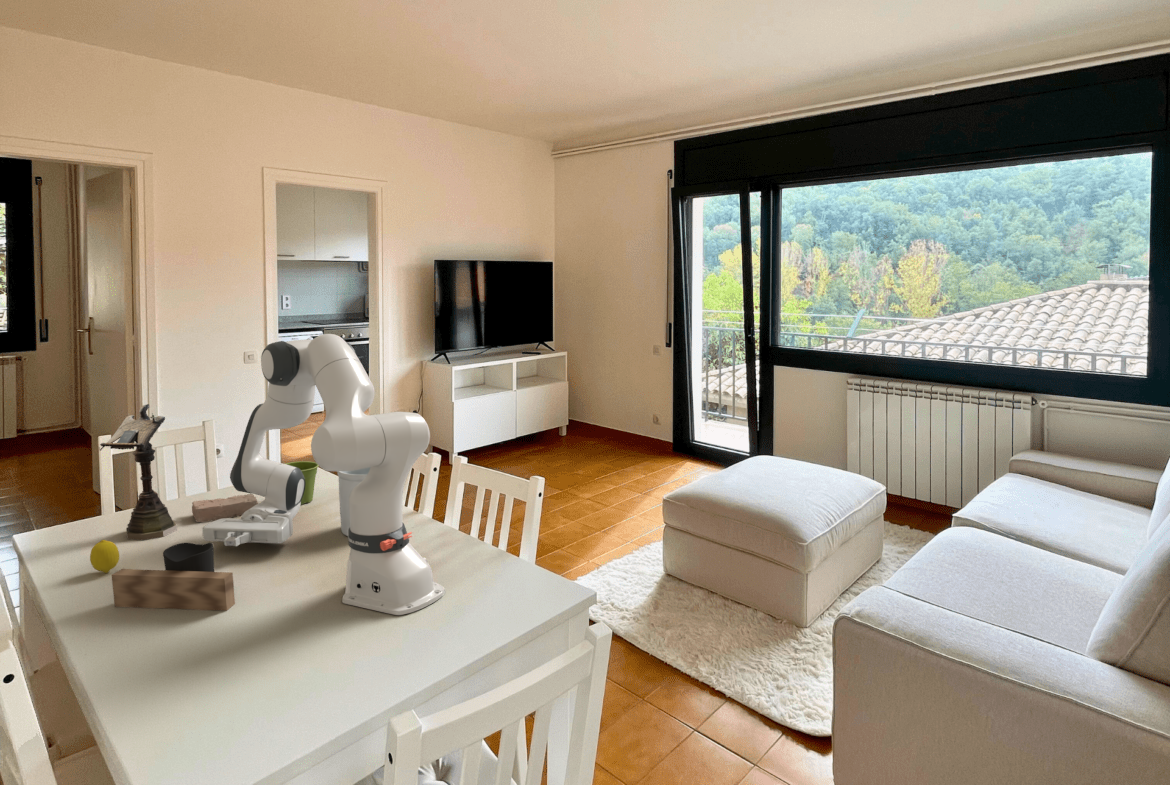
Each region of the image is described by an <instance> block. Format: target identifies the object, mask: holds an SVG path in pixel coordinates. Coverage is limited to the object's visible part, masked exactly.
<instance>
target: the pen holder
mask: <svg viewBox="0 0 1170 785" xmlns="http://www.w3.org/2000/svg"><path fill="white" fill-rule="evenodd" d="M162 556H163V557H162V558H163V562H164V564H163V565H164V570H170V571H201V572H215V556H214V543H213V542H207V543H203V544H197V543H193V542H181V543H177V544H174V545H171V546H169V547H167V548H166V549H164V550H163V552H162Z"/></svg>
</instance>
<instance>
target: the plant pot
mask: <svg viewBox="0 0 1170 785" xmlns="http://www.w3.org/2000/svg"><path fill="white" fill-rule="evenodd" d="M285 464H287V465H290V466H293V467H296V468H299V469H300V470H301V471H302V473H303V475H304V478H305V482H306V485H305V491H304V495H303V497H302V500H301V505H303V504H306V503H312V501H313V499H314V493H315V492H314V491H315V485H316V484H315V483H316V475H317V472H318V468H320V466H319V465H318V464H317V463H316V461H315V462H314V461H306V460H305V461H300V460H299V461H292V462H286V463H285Z"/></svg>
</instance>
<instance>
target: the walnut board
mask: <svg viewBox="0 0 1170 785" xmlns="http://www.w3.org/2000/svg"><path fill="white" fill-rule="evenodd" d="M233 573H234V572H228V571H227V572H225V571H214V572H201V571H170V570H165V569H137V568H136V569H133V568H120V569H119V570H116V571H115V572H114V573H112V574H111V583H112V593H113V603H114V608H143V609H169V610H170V609H171V610H172V609H173V610H194V611H195V610H199V611H203V610H204V611H228V610H229V609H231V608H232V607H234V605H235V604H236V602H235V601H236V599H235V586H234V576H233V575H234V574H233Z"/></svg>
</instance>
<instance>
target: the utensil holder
mask: <svg viewBox="0 0 1170 785" xmlns="http://www.w3.org/2000/svg"><path fill="white" fill-rule="evenodd" d="M370 468H371V467H368V468H363V469H358V470H353V471H336V473H337V476H338V496H339V497H338V498H339V499H338V500H339V516H340V528H341V533H342V534H343V535H344V536H347V537H348V530H349V528H350V513H349V497H350V494H351V492H352V490H353V489H354V487H355V486H357V485H358V484H359V483H360V482H361V481H363V480H364V479H365V477H366V476H367V474H368V473H369V471H370Z"/></svg>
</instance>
